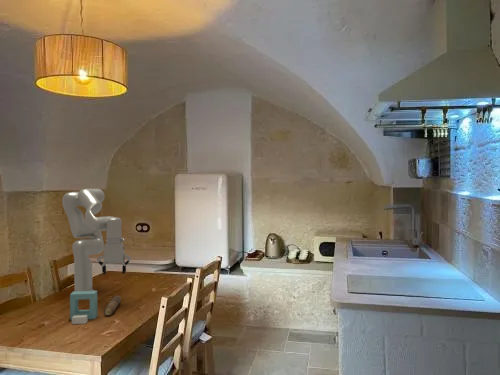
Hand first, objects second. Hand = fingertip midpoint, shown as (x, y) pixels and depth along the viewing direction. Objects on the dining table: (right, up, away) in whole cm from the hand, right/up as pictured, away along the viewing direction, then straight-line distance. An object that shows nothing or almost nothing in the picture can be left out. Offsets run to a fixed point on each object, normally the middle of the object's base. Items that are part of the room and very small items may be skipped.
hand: (114, 273), depth 210 cm
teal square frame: (-7, -17, -21) cm, 28 cm away
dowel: (+1, -16, -9) cm, 19 cm away
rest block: (-6, -17, -28) cm, 33 cm away
